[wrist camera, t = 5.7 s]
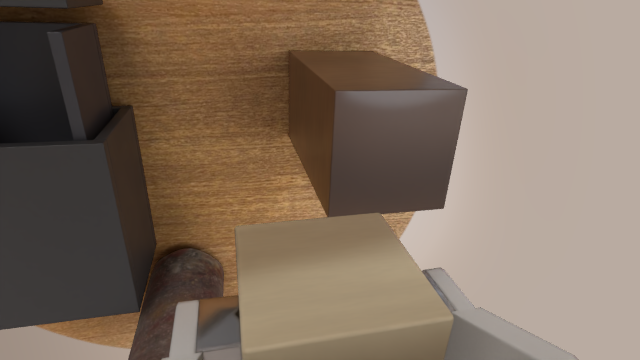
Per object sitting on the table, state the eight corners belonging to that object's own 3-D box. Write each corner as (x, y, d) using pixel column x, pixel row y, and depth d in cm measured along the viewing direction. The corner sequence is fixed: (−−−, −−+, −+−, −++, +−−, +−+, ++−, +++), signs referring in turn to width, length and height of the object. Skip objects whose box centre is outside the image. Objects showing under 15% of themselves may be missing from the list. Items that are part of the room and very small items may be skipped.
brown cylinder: (135, 272, 41) (70, 484, 23) (184, 228, 40) (156, 414, 22) (190, 307, 44) (171, 513, 27) (237, 268, 43) (248, 454, 26)
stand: (288, 50, 35) (334, 90, 21) (372, 51, 36) (468, 88, 22) (288, 135, 38) (328, 219, 24) (365, 132, 40) (444, 208, 26)
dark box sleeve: (-38, 108, 31) (-135, 152, 22) (132, 105, 34) (103, 143, 25) (16, 257, 37) (-43, 335, 29) (156, 244, 40) (139, 311, 32)
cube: (234, 225, 10) (241, 351, 6) (380, 211, 11) (456, 317, 7) (243, 337, 12) (252, 484, 8) (368, 317, 13) (424, 443, 9)
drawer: (-112, -96, 24) (-241, -130, 18) (87, -81, 27) (42, -105, 20) (-18, 162, 32) (-82, 208, 25) (131, 155, 35) (109, 195, 28)
